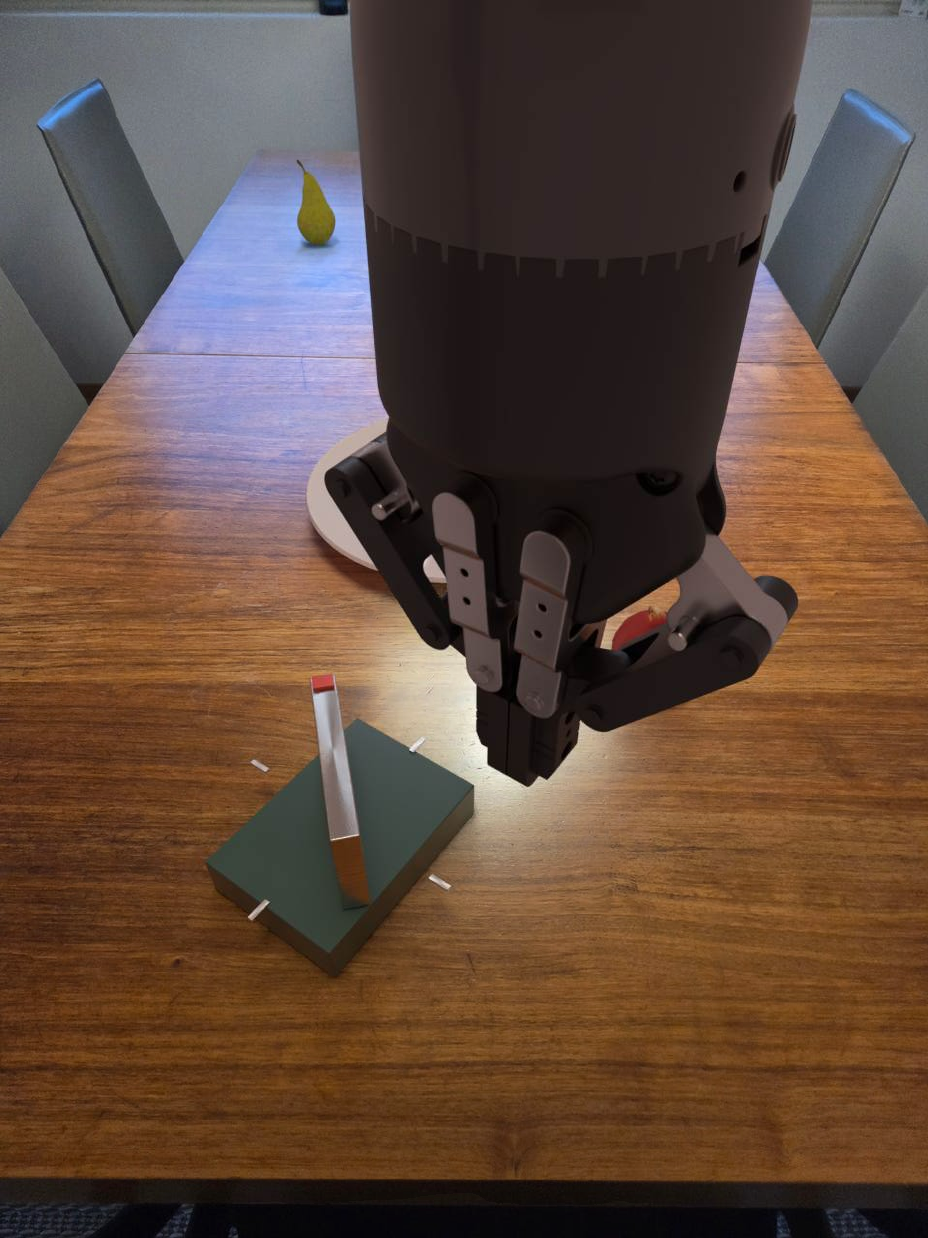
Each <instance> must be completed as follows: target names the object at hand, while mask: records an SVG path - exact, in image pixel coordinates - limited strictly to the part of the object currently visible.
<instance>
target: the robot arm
mask: <svg viewBox="0 0 928 1238" xmlns="http://www.w3.org/2000/svg"><path fill="white" fill-rule="evenodd" d="M812 8H813V0H349V28H350V31H349V32H350V53H351V56H350V57H351V67H352V80H353V92H354V94H353V95H354V106H355V107H354V108H355V117H356V119H355V120H356V130H357V143H358V155H359V156H358V157H359V167H360V168H359V169H360V181H361V194H362V195H361V196H362V206H363V207H362V208H363V219H364V231H365V245H366V257H367V269H368V272H367V273H368V282H369V283H368V284H369V297H370V308H371V320H372V335H373V348H374V359H375V361H374V362H375V371H376V372H375V373H376V385H377V392H378V395H379V399H380V401H381V404H382V407H383V409H384V410H385V412H386V414H387V416H388V418H389V419H388V418H387V419H388V423H387V428H386V432H384V433H383V434H381V435H380V436H378V437H377V438H375V439H374V440H372V441H371V442H369V443H368V444H366V445H365V446H363V447H362V448H360V449H359V450H357V451H356V452H354V453H353V454H351V455H350V456H348V457H347V458H345V459H344V460H342V461H341V462H339V463H338V464H336V465H335V466H333V467H332V468H330V469H329V470H327V471H326V473H325V476H324V482H325V486H326V489H327V491H328V493H329V495H330V496H331V498H332V499H333V501H334V502H335V504H336V506H337V507H338V509H339V510H340V512H341V513H342V515H343V517H344V518H345V520H346V521H347V523H348V524H349V526H350V528H351V529H352V531H353V532H354V534H355V535H356V537H357V539H358V540H359V542H360V543H361V545H362V546H363V548H364V549H365V551H366V553H367V554H368V556H369V557H370V559H371V560H372V562H373V564H374V565H375V567H376V568H377V570H378V571H377V570H376V571H377V572H378V573H379V575H380V576H381V578H382V579H383V581H384V583H385V584H386V586H387V587H388V589H389V591H390V592H391V594H392V595H393V597H394V598H395V600H396V601H397V603H398V604H399V606H400V608H401V609H402V611H403V612H404V613H405V616H406V617H407V619H408V620H409V622H410V623H411V625H412V627H413V628H414V630H415V631H416V633H417V634H418V636H419V637H420V639H421V640H422V641H423V643H425V644H426V645H427V646H429V647H430V648H432V649H434V650H437V651H444V650H446V649H447V648H449V646H451V648H454V650H456V651H457V652H458V653H459V654H460V655H462V656H463V657H464V658H465V668H466V672H467V674H468V677H469V678H470V679H471V681H472V682H473V684H475V687H476V688H475V708H476V710H475V718H476V719H475V732H476V734H477V737H478V740H479V743H480V745H482V746H483V747H485V748H486V749H487V750H486V764H487V766H488V767H490V768H492V769H493V770H495V771H497V772H499V773H501V774H503V775H505V776H506V777H508V778H509V779H512V780H513V781H515V782H517V783H519V784H521V786H524V787H526V788H529V787H530V788H531V786H532V785H534V783H535V782H536V781H537V780H538V778H539V777H540V778H542V779H544V780H546V781H548V780H549V779H550V778H551V777H552V776H553V775H554V774H555V773H556V771H557V770H558V769H559V767H560V766H561V765H562V764H563V762H564V761H565V760H566V759H567V757H568V756H569V755H570V754H571V752H572V751H573V750H574V749H575V748H576V746H577V745H578V741H579V734H580V732H579V731H580V726H581V723H583V725H585V726H586V727H588V728H589V729H591V730H593V731H595V732H598V733H608V732H611V731H614V730H617V729H619V728H622V727H625V726H627V725H630V724H632V723H635V722H638V721H640V720H641V721H642V720H643V719H646V718H648V717H651V716H654V715H656V714H659V713H661V712H664V711H668V710H670V709H672V708H675V707H677V706H680V705H683V704H685V703H688V702H690V701H693V700H696V699H698V698H701V697H705V696H706V695H709V694H711V693H714V692H717V691H720V690H722V689H725V688H727V687H729V686H732V685H736V684H738V683H740V682H741V683H742V682H743V681H746V680H748V679H751V678H752V677H754V676H755V675H756V673H757V672H758V670H759V669H760V667H761V666H762V664H763V663H764V661H765V660H766V658H767V656H768V655H769V654H771V652H772V650H773V648H774V647H775V646H776V644H777V642H778V641H779V639H781V638H780V637H781V636H782V634H783V633H784V632H785V630H786V628H787V626H788V624H789V623H790V622H791V619H793V616H794V615H795V613H796V611H797V610H798V607H799V597H798V594H797V592H796V590H795V588H793V586H792V585H791V584H790V583H789V582H787V581H786V580H785V579H783V578H780V577H778V576H774V575H769V574H767V575H766V574H765V575H759V576H757V577H752V576H751V574H750V573H749V571H748V570H747V569H746V568H745V567H744V566H743V564H742V563H741V562H740V560H739V559H738V558H737V557H736V556H735V554H734V553H733V552H732V551H731V550H730V548H729V547H728V546H727V545H726V543H725V542H724V541H723V540H722V538H721V537H720V535H721V533H722V531H723V528H724V526H725V523H726V517H727V503H726V497H725V494H724V491H723V487H722V485H721V482H720V477H719V474H718V473H719V472H718V466H717V453H718V447H719V442H720V439H721V438H720V437H721V434H722V430H723V427H724V424H725V420H726V416H727V415H726V414H727V410H728V407H729V403H730V397H731V393H732V388H733V383H734V379H735V374H736V369H737V365H738V359H739V355H740V350H741V347H742V341H743V337H744V333H745V328H746V322H747V318H748V313H749V309H750V305H751V300H752V294H753V291H754V286H755V282H756V277H757V272H758V269H759V265H760V260H761V256H762V252H763V246H764V241H765V237H766V233H767V228H768V223H769V220H770V215H771V210H772V205H773V200H774V197H775V191H776V189H777V186H778V184H779V183H780V182H782V180H783V178H784V175H785V172H786V168H787V165H788V162H789V156H790V153H791V149H792V144H793V140H794V136H795V130H796V125H797V116H798V115H797V114H796V113H795V112H796V111H795V101H796V95H797V91H798V88H799V87H798V86H799V82H800V78H801V73H802V68H803V63H804V57H805V53H806V47H807V41H808V37H809V30H810V26H811V19H812V18H811V17H812V11H813V9H812ZM430 555H432V556H433V558H434V560H435V561H436V563H437V565H438V566H439V568H440V569H441V571H442V573H443V574H444V576H445V578H446V583H445V584H446V591H445V592H444V593H443V594H441V596H440V595H439V594H438V593H439V592H437V590H436V588H435V587H434V585H433V584H432V582H430V580H429V579H428V577H427V576H426V574H425V572H424V568H423V565H424V561H425V560H426V559H427V558H428V557H429V556H430ZM675 579H676V581H677V584H678V587H679V595H678V597H677V598H676V600H675V601H674V602H673V603H672V605H671V606H670V607H669V608H668V610H667V611H666V612H667V615H666V621H667V622H666V623H664V624H662V625H660V626H658V627H656V628H654V629H652V630H650V631H648V632H646V633H644V634H642V635H640V636H638V637H636V638H634V639H632V640H630V641H628V642H626V643H624V644H622V645H621V646H620V647H619V648H618V649H617V650H611V649H612V648H603V647H602V643H603V638H604V634H605V630H606V626H607V623H608V620H609V619H611V618H613V617H614V616H616V615H617V614H619V613H621V612H622V611H624V610H625V609H627V608H629V607H631V606H632V605H633V604H635V603H638V601H640V600H643V598H645V597H647V596H648V595H650V594H652V593H654V592H656V590H658V589H660V588H661V587H663V586H665V585H666V584H668V583H669V582H671V581H672V580H675Z"/></svg>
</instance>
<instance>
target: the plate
mask: <svg viewBox="0 0 928 1238" xmlns="http://www.w3.org/2000/svg"><path fill="white" fill-rule="evenodd" d="M388 419H389V417H388V418H385V419H382V420H379V421H376V422H373V423H371V424H368V425H365V426H364V427H362V428H360V429H357V430H355V431H354V432H352V433H349V434H348V435H347V436H345V437H344V438H342V439H341V440H339V441H338V442H336V443H335V444H334V445H333V446H331V447H330V448H329V449H328V450H327V451H326V452H325V453H324V454H323V455H322V456H321V457H320V459H319V460H317V462H316V464H315V466H314V467H313V469H312V471H311V473H310V476H309V478H308V482H307V486H306V489H305V508H306V511H307V514H308V518H309V520H310V522H311V524H312V525H313V527H314V529H315V530H316V532H317V533H318V534H319V536H320V537H321V538H322V539H323V540H324V541H325V542H326V543H327V544H328V545H329V546H331V547H332V548H333V549H334V550H335V551H337V552H338V553H340V554H341V555H342V556H344V557H346V558H348V559H349V560H351V561H353V562H355V563H357V564H359V565H361V566H364V567H366V568H369V569H371V570H374V571H377V572H379V571H378V570H377V568H376V567H375V565H374V564H373V562H372V560H371V559H370V557H369V556H368V554H367V553H366V551H365V549H364V548H363V546H362V545H361V543H360V542H359V540H358V539H357V537H356V535H355V534H354V532H353V531H352V529H351V528H350V526H349V524H348V523H347V521H346V520H345V518H344V517H343V515H342V513H341V512H340V510H339V509H338V507H337V506H336V504H335V502H334V501H333V499H332V498H331V496H330V495H329V493H328V491H327V489H326V486H325V482H324V476H325V473H326V471H327V470H329V469H330V468H332V467H333V466H335V465H336V464H338V463H339V462H341V461H342V460H344V459H345V458H347V457H348V456H350V455H351V454H353V453H354V452H356V451H357V450H359V449H360V448H362V447H363V446H365V445H366V444H368V443H369V442H371V441H372V440H374V439H375V438H377V437H378V436H380V435H381V434H383V433H384V432H386V428H387V423H388ZM423 568H424V572H425V574H426V576H427V577H428V579H429V580H430V582H431V583H439V584H447V583H446V578H445V576H444V574H443V573H442V571H441V569H440V568H439V566H438V565H437V563H436V561H435V560H434V558H433V556H432V555H430V556H429V557H428V558H427V559H426V560H425V561H424V565H423Z"/></svg>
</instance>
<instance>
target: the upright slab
mask: <svg viewBox="0 0 928 1238" xmlns="http://www.w3.org/2000/svg"><path fill="white" fill-rule="evenodd" d="M308 681H309V689H310V696H311V705H312V711H313V717H314V726H315V735H316V742H317V743H316V744H317V750H318V755H319V760H320V768H321V775H322V783H323V791H324V799H325V807H326V815H327V823H328V831H329V839H330V845H331V850H332V855H333V860H334V865H335V871H336V876H337V881H338V886H339V891H340V897H341V902H342V907H343V909H344V910H345V909H350V908H355V907H360V906H365V905H369V904H370V903H371V902H370V896H369V889H368V882H367V876H366V869H365V862H364V856H363V849H362V842H361V836H360V829H359V823H358V817H357V810H356V804H355V797H354V791H353V785H352V778H351V772H350V766H349V759H348V753H347V747H346V740H345V734H344V730H345V728H344V722H343V715H342V710H341V703H340V697H339V690H338V683H337V677H336V674H334V673H326V674H322V675H314V676H311V677H309V680H308Z"/></svg>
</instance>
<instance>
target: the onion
mask: <svg viewBox="0 0 928 1238" xmlns="http://www.w3.org/2000/svg"><path fill="white" fill-rule="evenodd" d="M667 612H668V611H665V610H663V608H661V607H659V606H657V605H652V606H651V605H649V607H648V608H647V609H644V610H641V611H638V612H636V613H634V614H632V615H630V616H628V617H627V618H626V619H624V621H623V622H622V623H621V624H620V626H619V627H618V628H617V630H616V631H615V633H614V635H613V637H612V641H611V648H610V649H611V650H617V649H618V648H619V647H620V646H621V645H622V644H624V643H626V642H628V641H630V640H632V639H634V638H636V637H638V636H640V635H642V634H644V633H646V632H648V631H650V630H652V629H654V628H656V627H658V626H660V625H662V624H664V623H666V622H667V621H666V615H667Z"/></svg>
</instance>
